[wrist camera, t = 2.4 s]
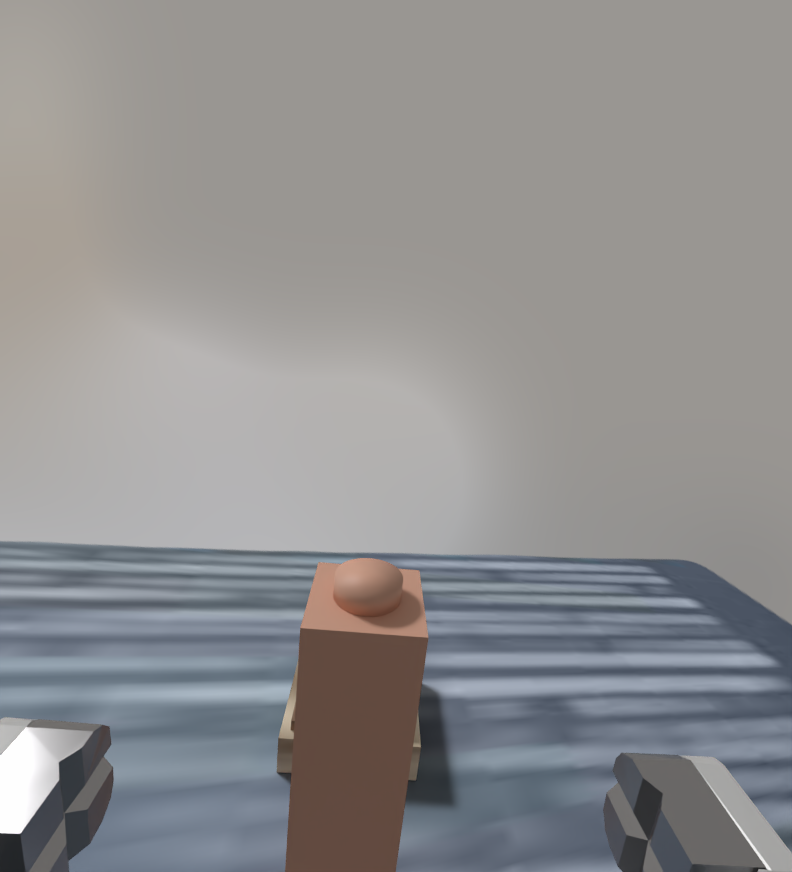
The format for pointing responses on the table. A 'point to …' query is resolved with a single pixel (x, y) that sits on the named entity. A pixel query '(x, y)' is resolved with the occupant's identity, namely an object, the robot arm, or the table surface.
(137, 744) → the table surface
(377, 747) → the pillar
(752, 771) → the table surface
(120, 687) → the table surface
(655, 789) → the robot arm
